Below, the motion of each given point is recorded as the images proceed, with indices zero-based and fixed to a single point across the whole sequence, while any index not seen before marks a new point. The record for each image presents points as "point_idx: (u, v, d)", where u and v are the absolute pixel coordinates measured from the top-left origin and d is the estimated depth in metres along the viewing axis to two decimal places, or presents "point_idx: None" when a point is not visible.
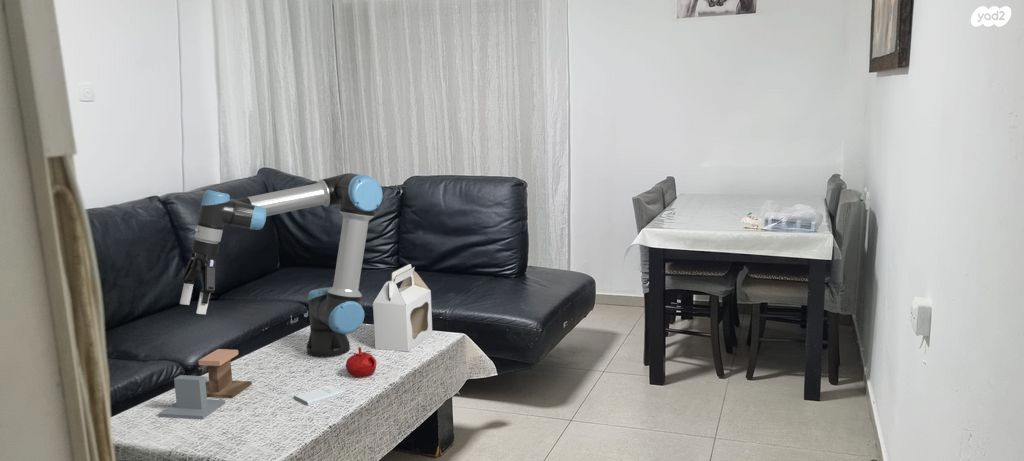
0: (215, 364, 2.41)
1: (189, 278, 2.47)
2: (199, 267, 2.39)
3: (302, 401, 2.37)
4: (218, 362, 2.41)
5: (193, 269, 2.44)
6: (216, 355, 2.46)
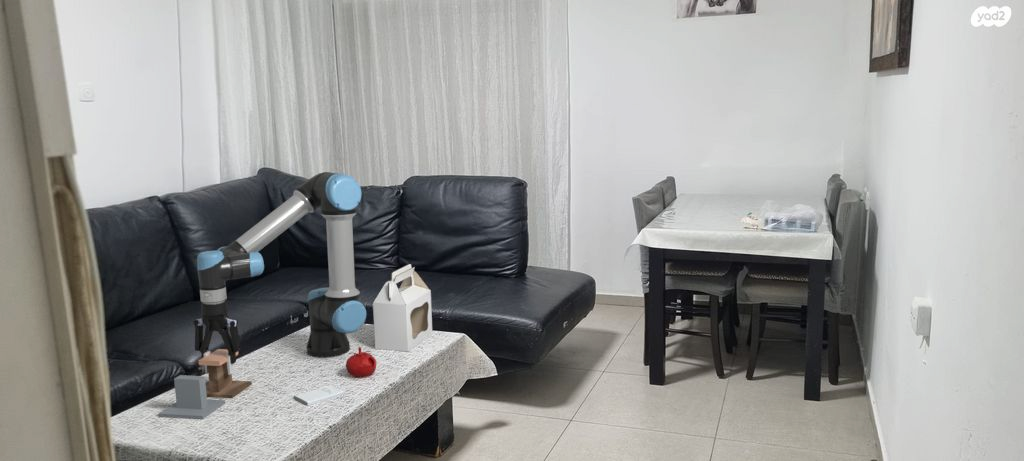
0: (215, 364, 2.41)
1: (206, 345, 2.46)
2: (219, 329, 2.43)
3: (302, 401, 2.37)
4: (218, 362, 2.41)
5: (209, 333, 2.45)
6: (216, 355, 2.46)
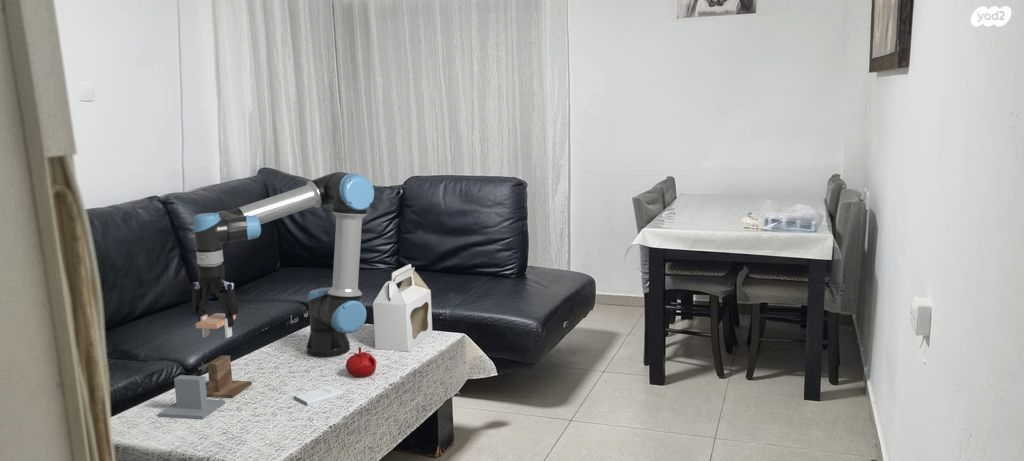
0: (212, 327, 2.39)
1: (203, 308, 2.45)
2: (216, 292, 2.41)
3: (302, 401, 2.37)
4: (215, 325, 2.39)
5: (206, 296, 2.43)
6: (213, 318, 2.45)
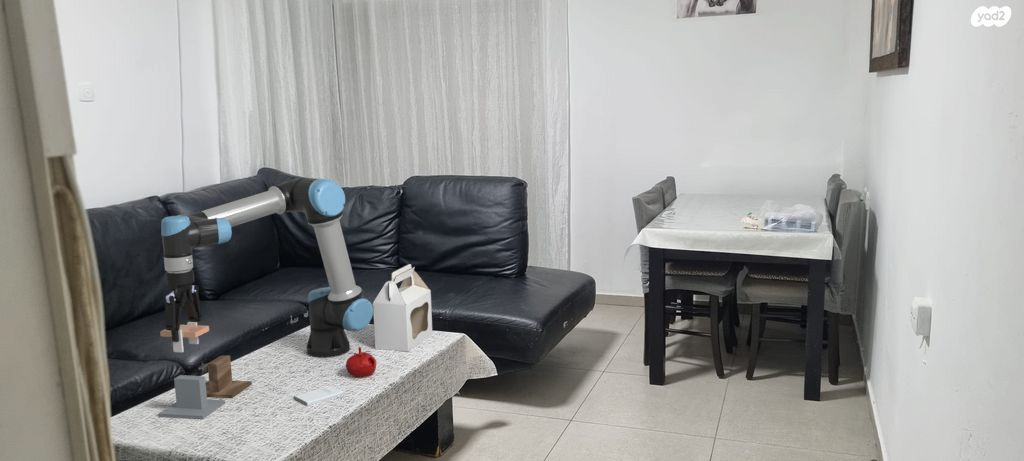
0: (206, 330, 2.30)
1: None
2: (191, 297, 2.29)
3: (302, 401, 2.37)
4: (208, 327, 2.31)
5: None
6: (185, 329, 2.29)
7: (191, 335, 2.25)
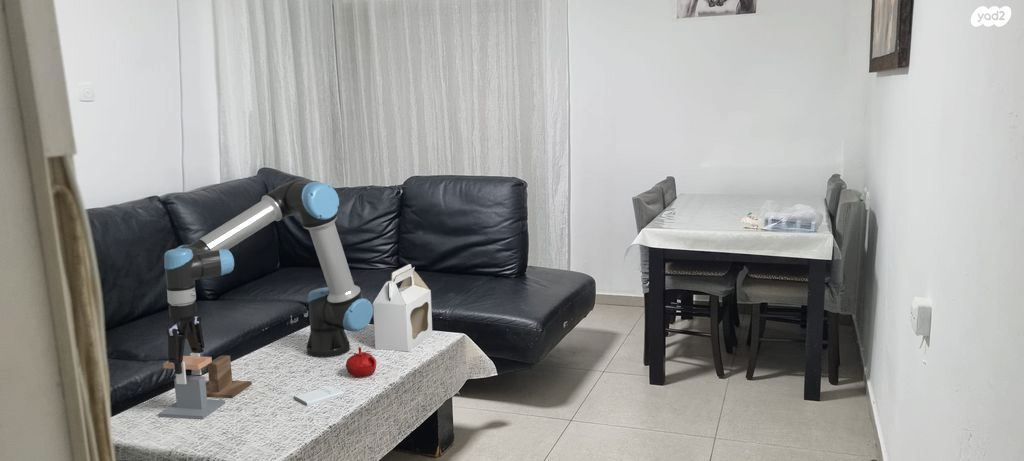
0: (209, 362, 2.32)
1: None
2: (194, 328, 2.31)
3: (302, 402, 2.36)
4: (210, 358, 2.33)
5: None
6: (188, 360, 2.30)
7: (194, 367, 2.27)
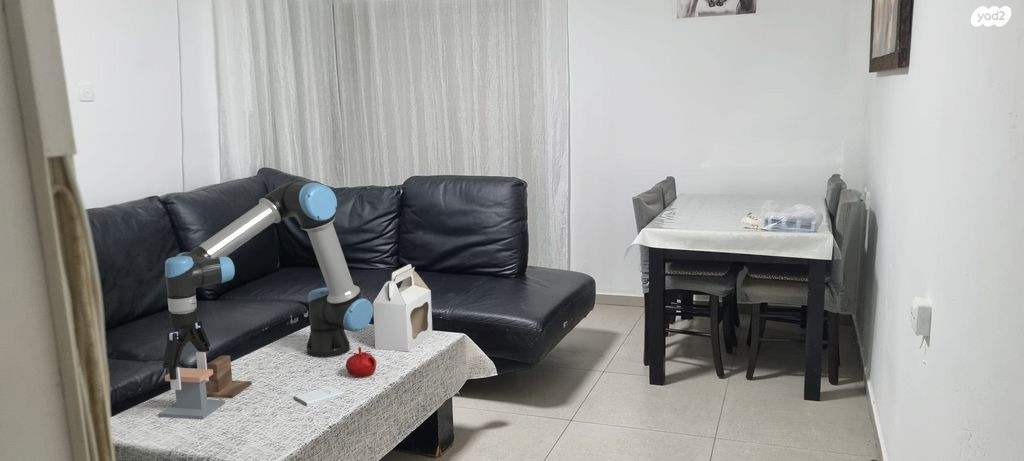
0: (210, 374, 2.33)
1: None
2: (196, 334, 2.32)
3: (301, 402, 2.36)
4: (212, 371, 2.33)
5: None
6: (189, 373, 2.31)
7: (195, 380, 2.27)
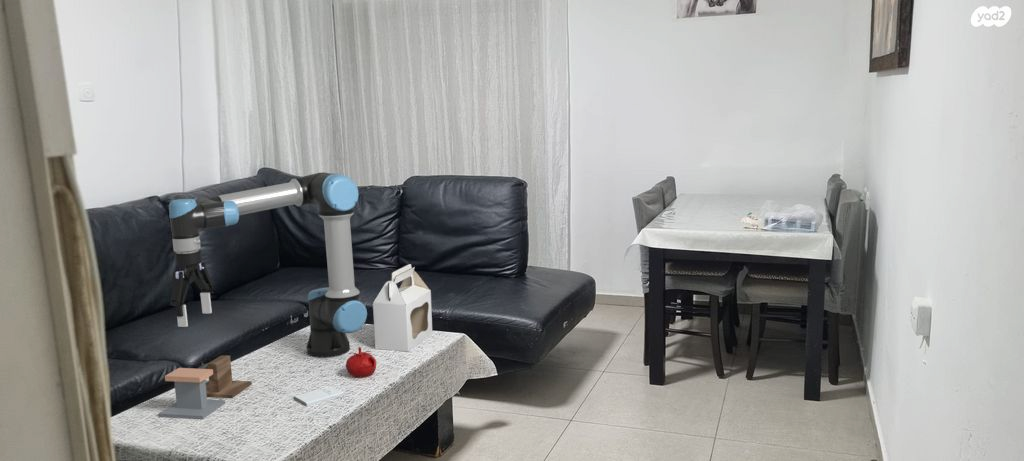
0: (210, 374, 2.33)
1: None
2: (200, 274, 2.40)
3: (301, 402, 2.36)
4: (212, 371, 2.33)
5: None
6: (189, 373, 2.31)
7: (195, 380, 2.27)
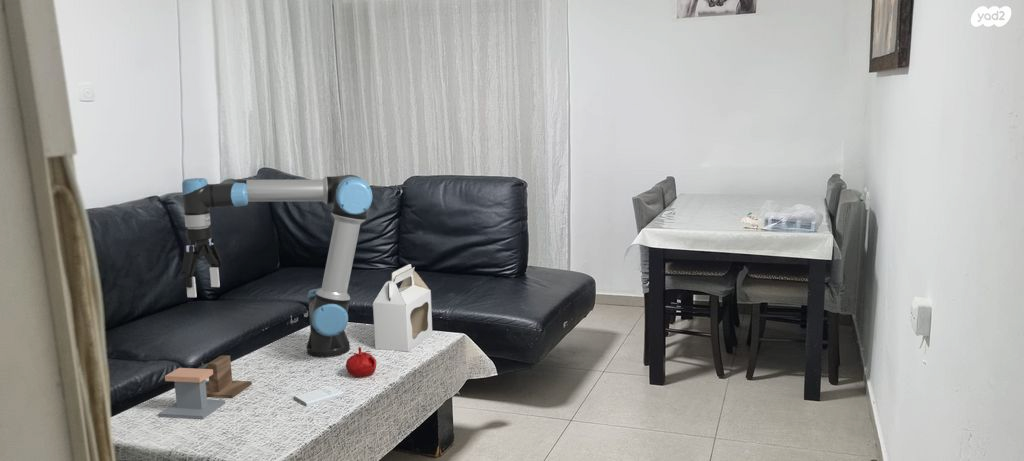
0: (210, 374, 2.33)
1: None
2: (209, 250, 2.56)
3: (301, 402, 2.36)
4: (212, 371, 2.33)
5: None
6: (189, 373, 2.31)
7: (195, 380, 2.27)
